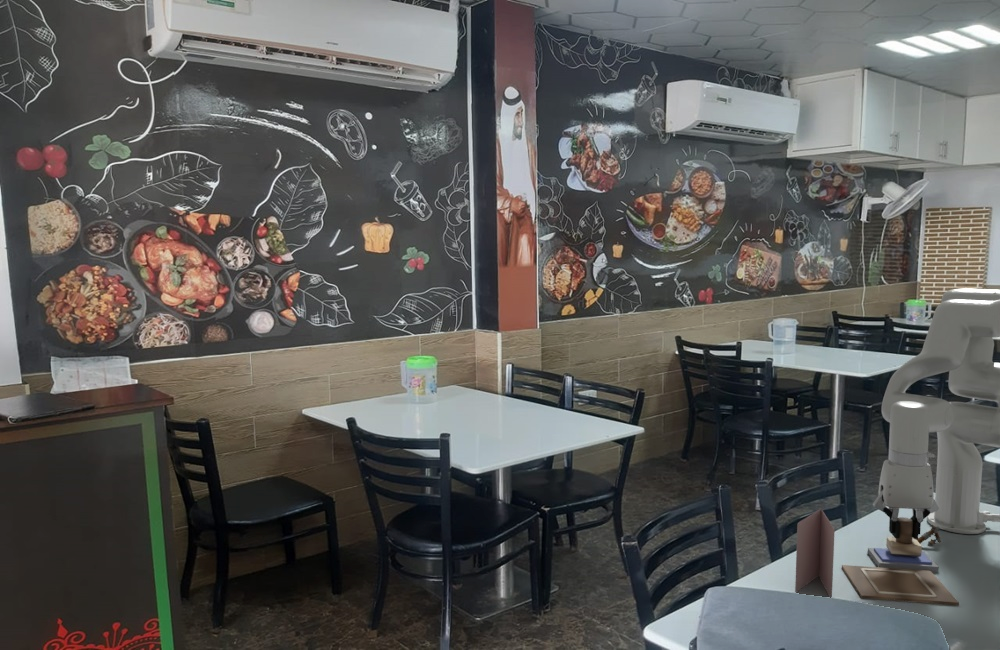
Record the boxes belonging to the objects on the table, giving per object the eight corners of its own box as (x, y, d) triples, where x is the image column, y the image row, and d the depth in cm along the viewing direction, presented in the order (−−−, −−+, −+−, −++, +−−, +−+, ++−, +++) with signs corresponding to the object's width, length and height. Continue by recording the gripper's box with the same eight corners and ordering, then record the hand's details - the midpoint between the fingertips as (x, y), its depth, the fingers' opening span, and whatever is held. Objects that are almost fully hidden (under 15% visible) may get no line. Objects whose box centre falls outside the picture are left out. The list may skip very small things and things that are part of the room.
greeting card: (814, 574, 155) (817, 507, 154) (850, 585, 150) (852, 516, 148) (791, 591, 147) (793, 522, 146) (827, 604, 142) (830, 532, 140)
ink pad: (923, 556, 163) (924, 549, 163) (938, 572, 155) (938, 564, 155) (867, 552, 165) (867, 545, 165) (879, 568, 158) (879, 560, 157)
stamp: (915, 549, 162) (916, 517, 161) (921, 556, 158) (922, 524, 157) (886, 547, 163) (887, 515, 162) (891, 554, 159) (893, 522, 158)
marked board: (930, 573, 155) (930, 570, 155) (959, 605, 141) (959, 601, 141) (841, 567, 158) (841, 564, 158) (861, 598, 144) (861, 594, 144)
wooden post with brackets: (946, 541, 169) (941, 525, 168) (920, 558, 168) (915, 542, 167) (939, 538, 171) (934, 522, 170) (914, 555, 169) (909, 539, 169)
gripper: (941, 453, 160) (937, 531, 162) (862, 451, 163) (859, 528, 165) (956, 464, 153) (951, 545, 155) (873, 461, 156) (870, 541, 158)
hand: (904, 535), depth 160 cm, fingers closed on stamp, 3 cm apart
